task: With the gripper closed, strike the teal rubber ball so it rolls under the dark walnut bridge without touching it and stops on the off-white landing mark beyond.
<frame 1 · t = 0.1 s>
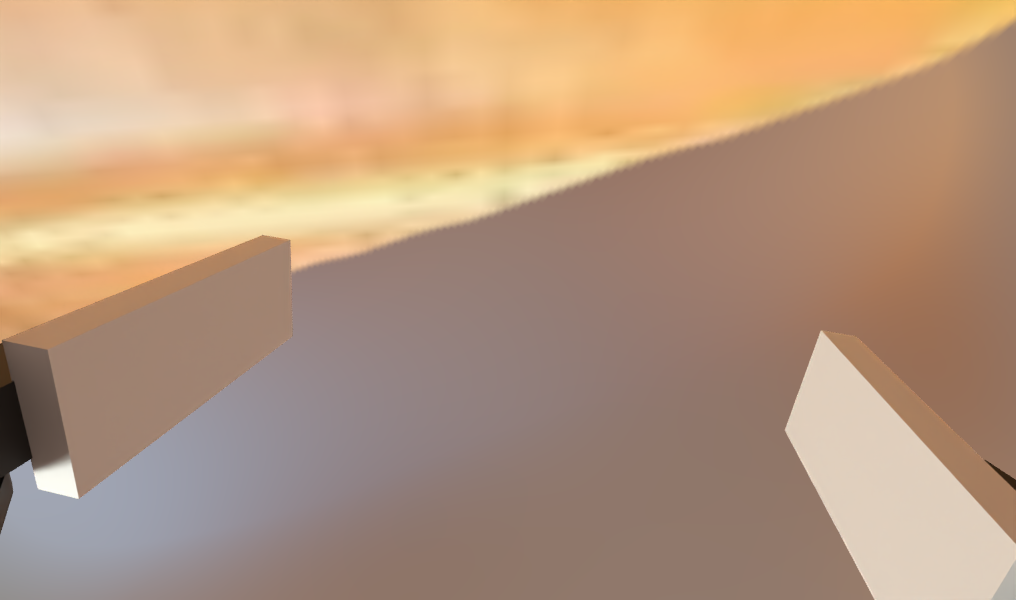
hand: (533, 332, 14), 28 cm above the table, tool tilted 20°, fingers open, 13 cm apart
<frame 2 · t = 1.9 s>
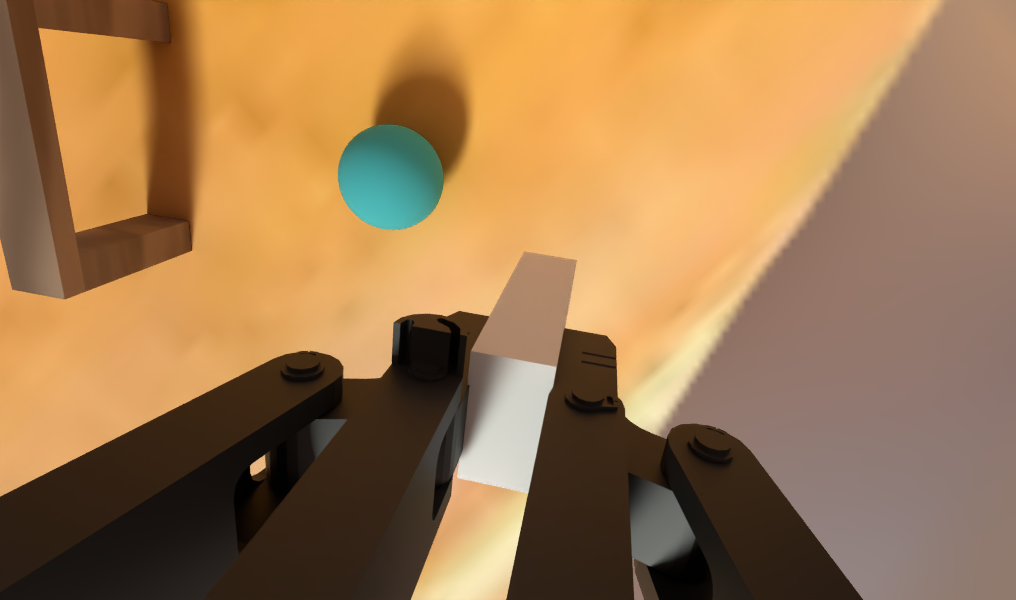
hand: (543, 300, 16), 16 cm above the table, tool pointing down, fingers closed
bridge: (157, 133, 34), on the table
ball: (391, 178, 29), on the table
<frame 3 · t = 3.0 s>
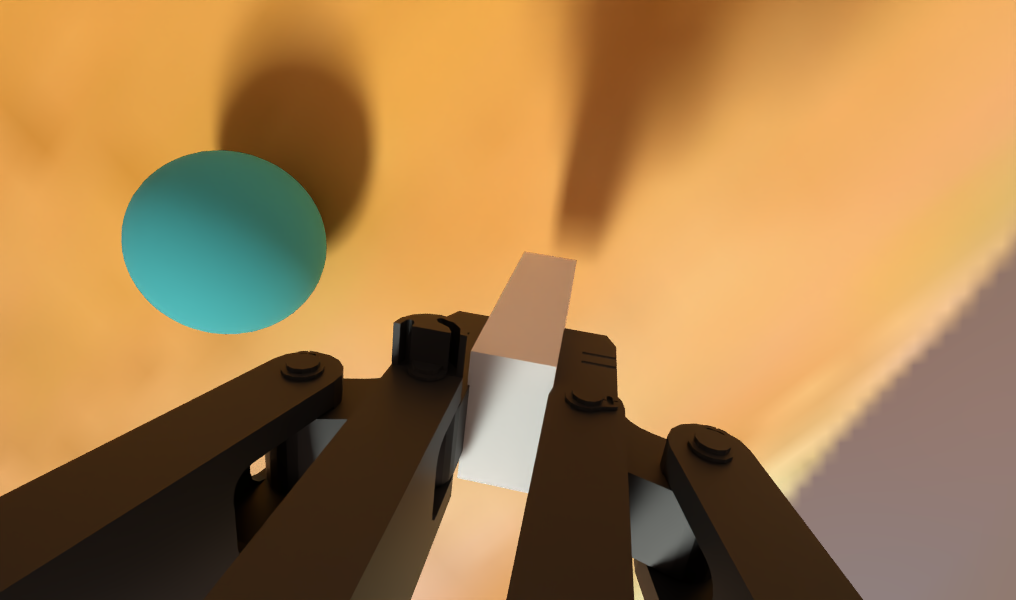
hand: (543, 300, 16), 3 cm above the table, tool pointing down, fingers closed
ball: (231, 243, 17), on the table
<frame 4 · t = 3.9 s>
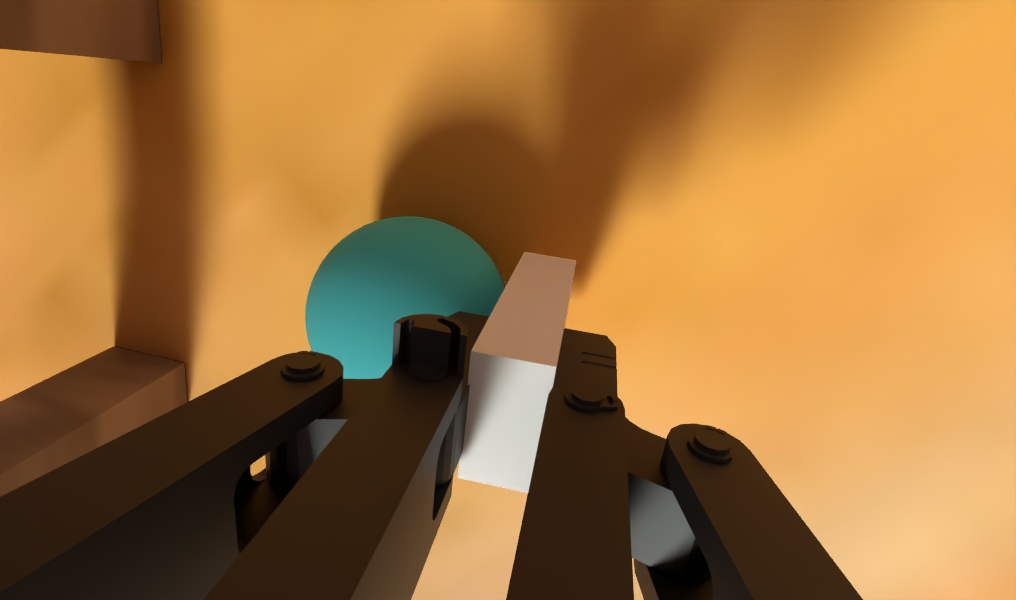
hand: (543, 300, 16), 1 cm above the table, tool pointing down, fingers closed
bridge: (135, 220, 19), on the table
ball: (410, 315, 15), on the table
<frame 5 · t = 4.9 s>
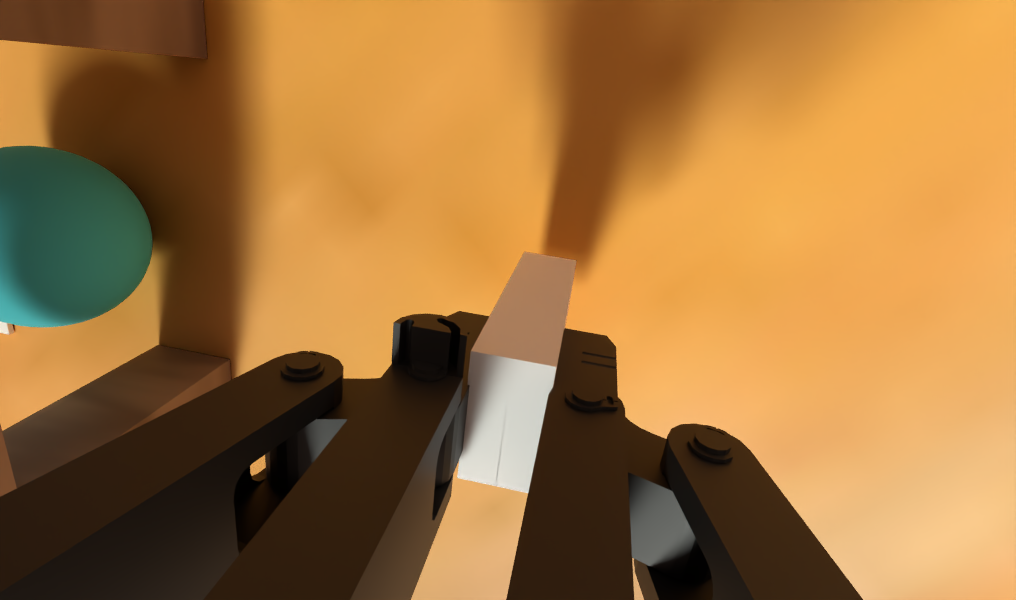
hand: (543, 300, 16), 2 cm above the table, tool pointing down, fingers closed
bridge: (180, 217, 19), on the table
ball: (46, 238, 17), on the table
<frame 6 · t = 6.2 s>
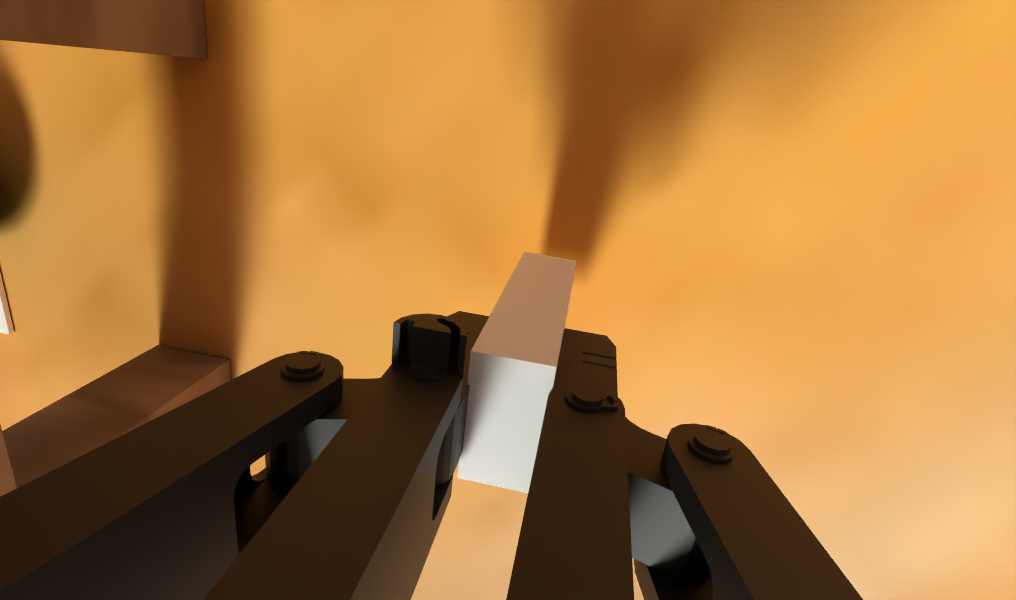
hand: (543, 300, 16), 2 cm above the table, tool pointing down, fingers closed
bridge: (180, 217, 19), on the table
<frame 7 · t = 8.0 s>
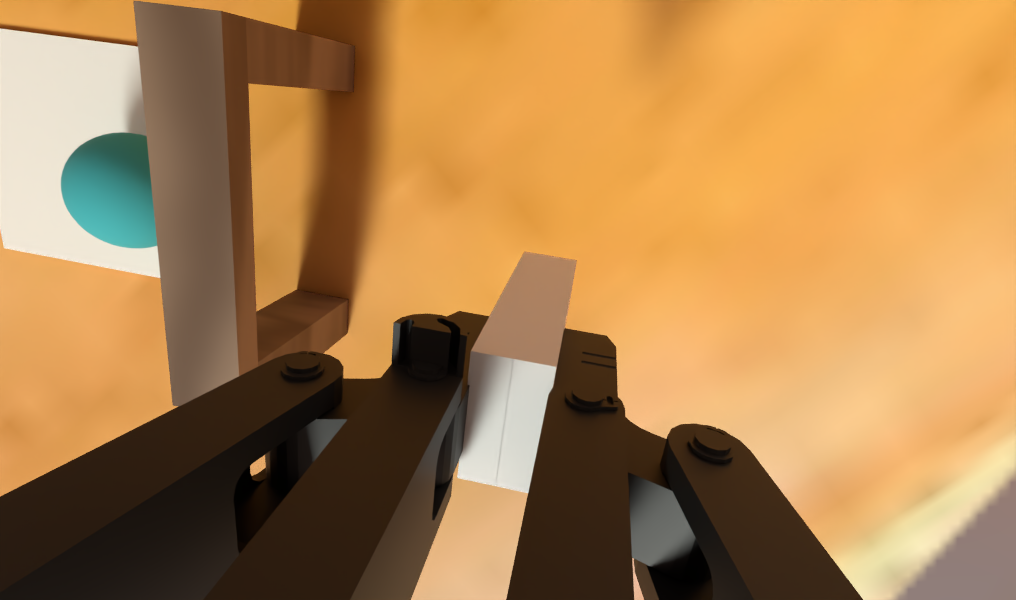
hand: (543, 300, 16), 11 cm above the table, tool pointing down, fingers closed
bridge: (322, 197, 28), on the table
ball: (133, 191, 27), resting on landing mark
landing mark: (81, 158, 30), on the table
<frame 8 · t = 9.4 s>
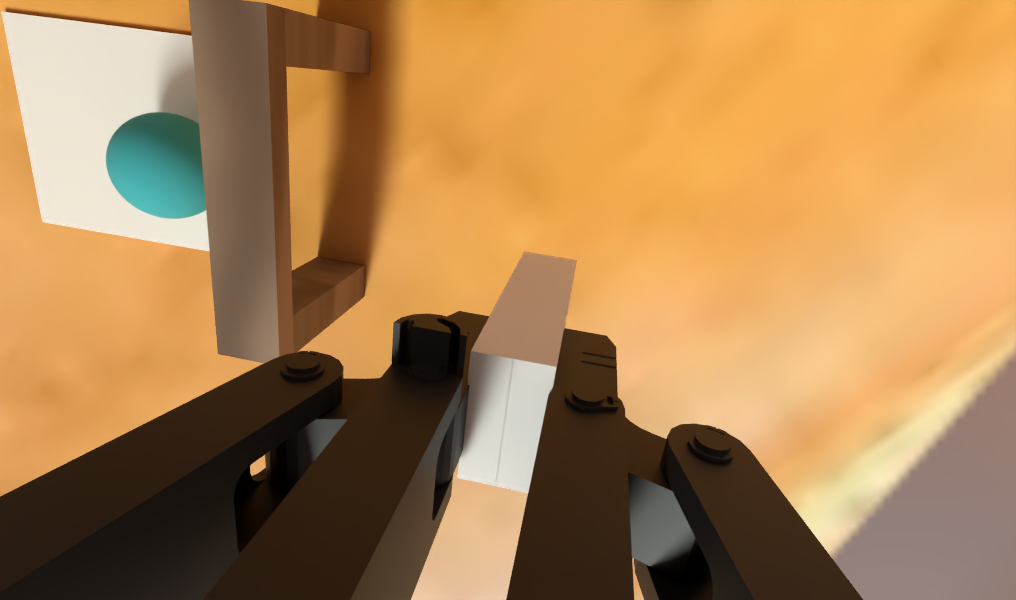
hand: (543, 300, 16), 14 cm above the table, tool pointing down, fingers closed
bridge: (341, 171, 31), on the table
ball: (169, 166, 29), resting on landing mark
landing mark: (116, 137, 32), on the table
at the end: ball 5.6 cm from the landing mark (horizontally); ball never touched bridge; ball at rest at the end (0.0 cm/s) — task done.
